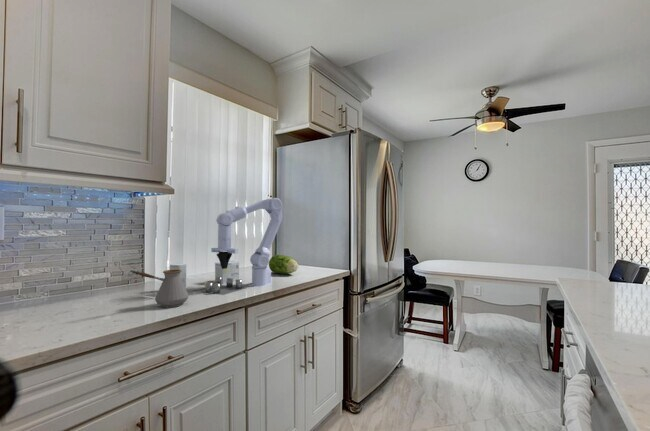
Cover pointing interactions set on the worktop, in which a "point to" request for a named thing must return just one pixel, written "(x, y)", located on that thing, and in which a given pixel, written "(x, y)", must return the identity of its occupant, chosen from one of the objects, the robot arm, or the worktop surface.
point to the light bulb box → (227, 271)
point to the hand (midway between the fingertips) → (224, 268)
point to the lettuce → (282, 264)
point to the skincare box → (182, 273)
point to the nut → (210, 281)
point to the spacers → (216, 286)
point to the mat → (222, 290)
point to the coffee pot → (169, 288)
